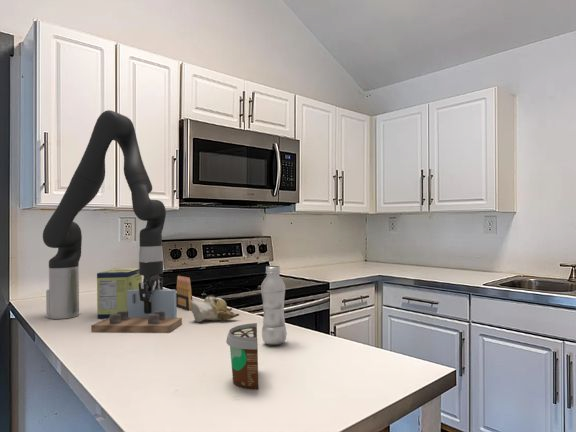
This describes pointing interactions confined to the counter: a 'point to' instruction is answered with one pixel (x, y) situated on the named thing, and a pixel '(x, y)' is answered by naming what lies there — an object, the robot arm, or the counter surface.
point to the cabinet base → (137, 323)
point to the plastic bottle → (273, 307)
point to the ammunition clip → (183, 293)
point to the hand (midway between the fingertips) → (151, 311)
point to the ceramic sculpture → (211, 309)
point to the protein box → (115, 289)
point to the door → (152, 303)
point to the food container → (244, 355)
